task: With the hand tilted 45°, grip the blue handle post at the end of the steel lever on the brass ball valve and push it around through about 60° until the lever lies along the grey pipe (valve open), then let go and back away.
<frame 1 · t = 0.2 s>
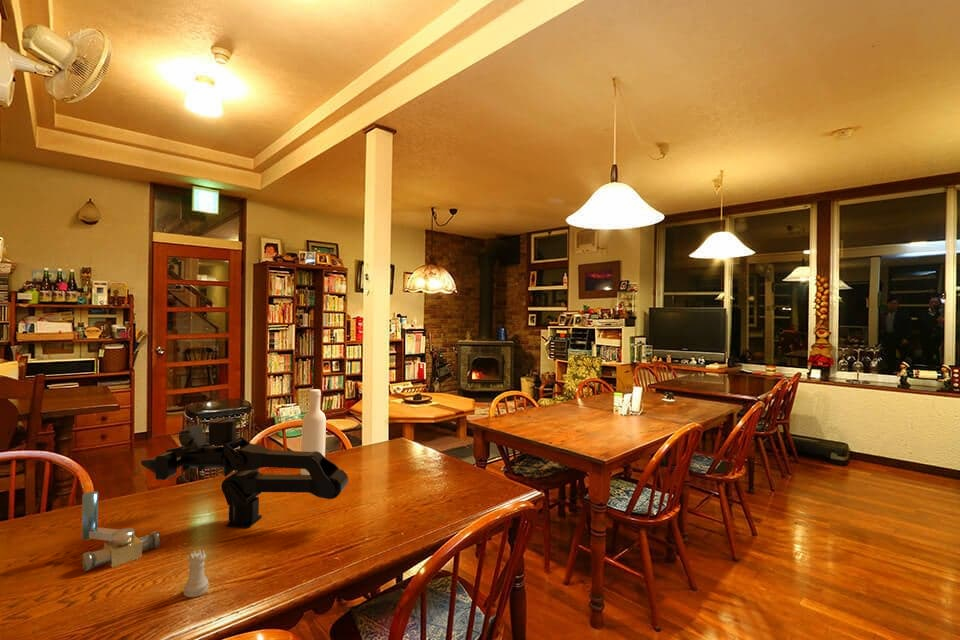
hand: (154, 456, 124), 17 cm above the table, tool horizontal, fingers open, 9 cm apart
rook chess piece: (196, 592, 93), on the table
bottle: (312, 475, 160), on the table
valve body: (122, 558, 105), on the table
lever: (107, 517, 105), point 9 cm above the table, hinge at 0.0°
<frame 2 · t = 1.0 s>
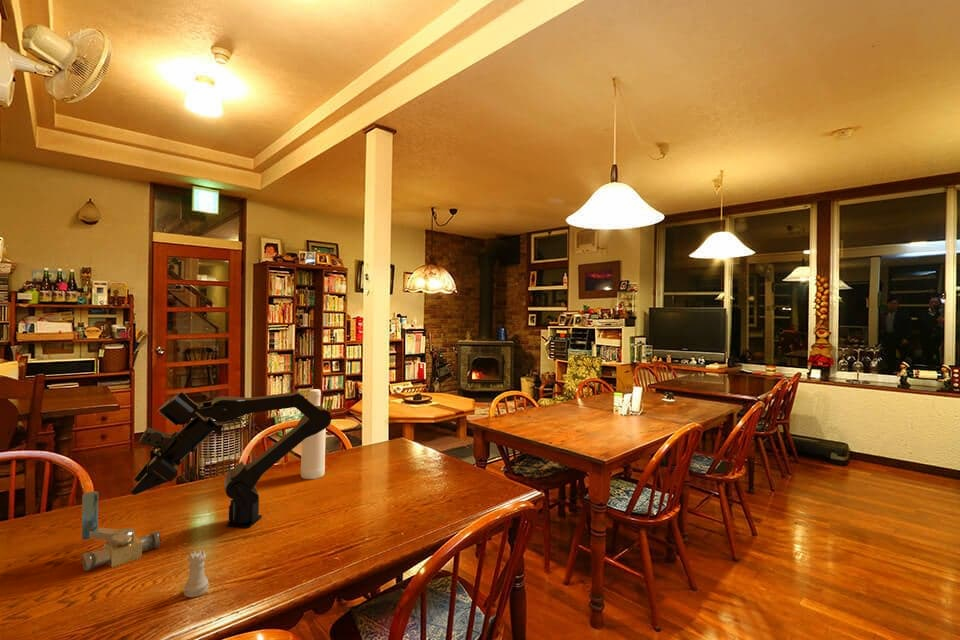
hand: (134, 487, 111), 14 cm above the table, tool tilted 45°, fingers open, 9 cm apart
nothing on the table moved.
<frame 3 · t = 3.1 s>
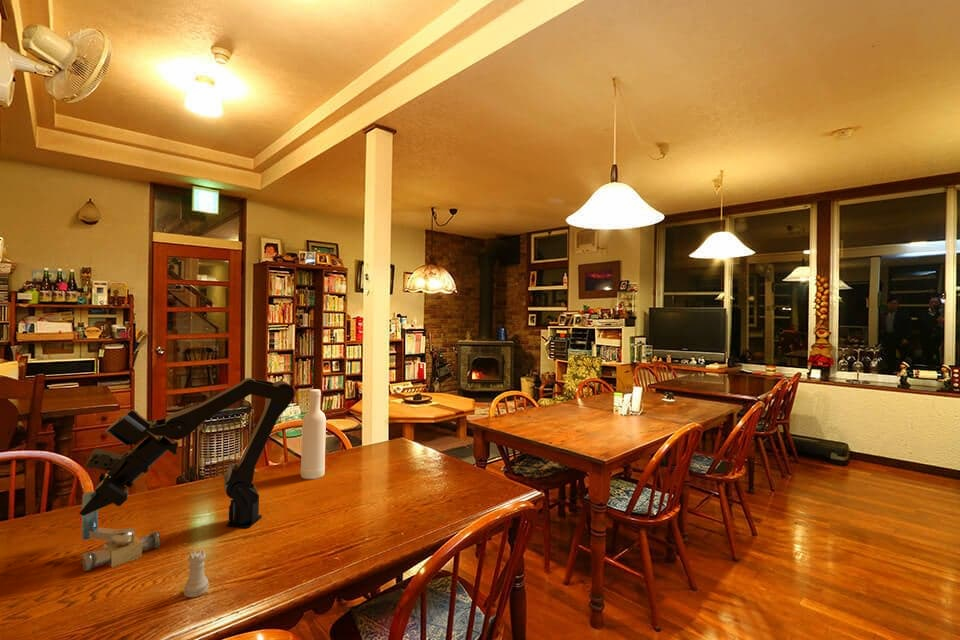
hand: (82, 511, 105), 10 cm above the table, tool tilted 45°, fingers closed on lever, 3 cm apart
lever: (107, 517, 105), point 9 cm above the table, hinge at 0.0°, touching gripper
everything else where it was.
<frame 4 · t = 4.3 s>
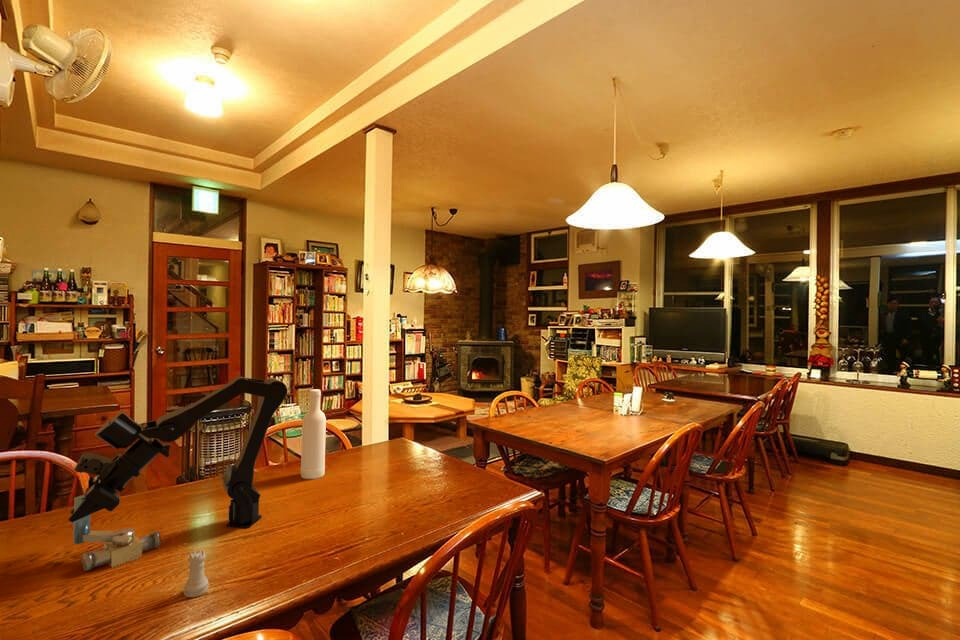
hand: (71, 517, 102), 10 cm above the table, tool tilted 45°, fingers open, 4 cm apart
lever: (104, 519, 104), point 9 cm above the table, hinge at 13.0°, touching gripper
everything else where it was.
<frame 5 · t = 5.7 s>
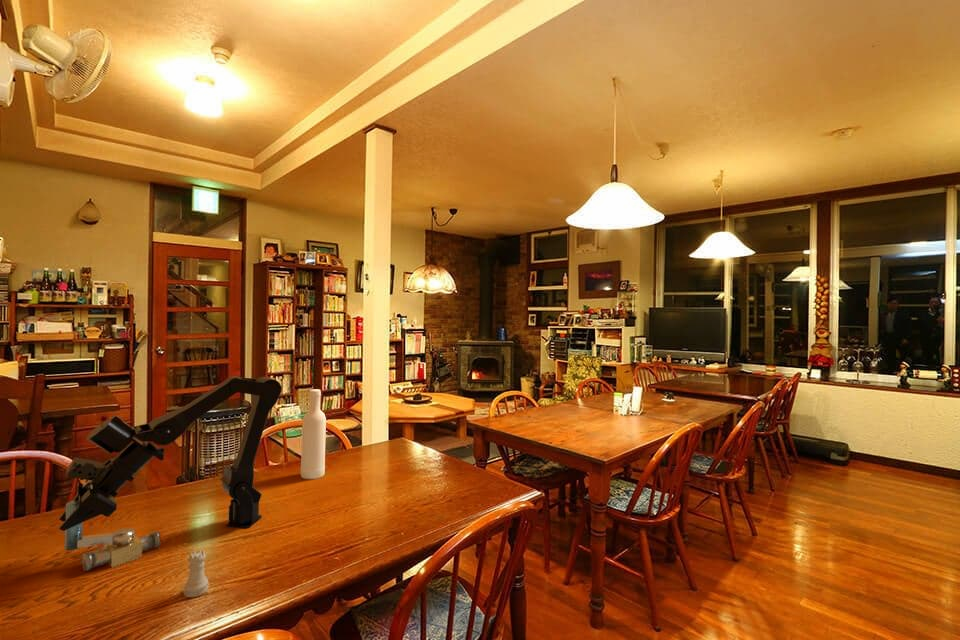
hand: (61, 525, 99), 10 cm above the table, tool tilted 45°, fingers open, 5 cm apart
lever: (100, 521, 103), point 9 cm above the table, hinge at 31.3°, touching gripper
everything else where it was.
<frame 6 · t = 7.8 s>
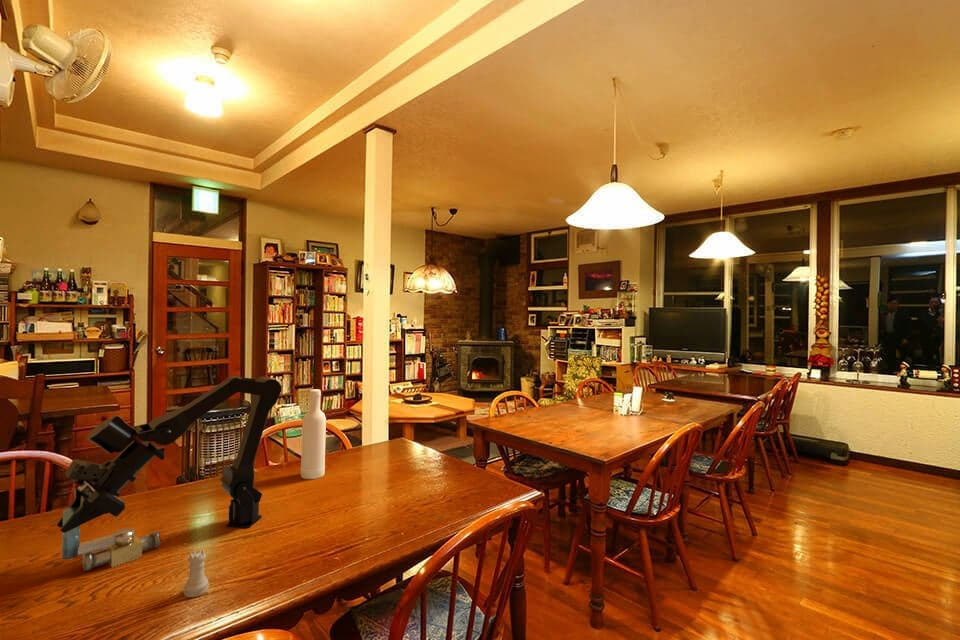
hand: (60, 529, 96), 10 cm above the table, tool tilted 45°, fingers closed on lever, 3 cm apart
lever: (100, 525, 101), point 9 cm above the table, hinge at 57.7°, touching gripper
everything else where it was.
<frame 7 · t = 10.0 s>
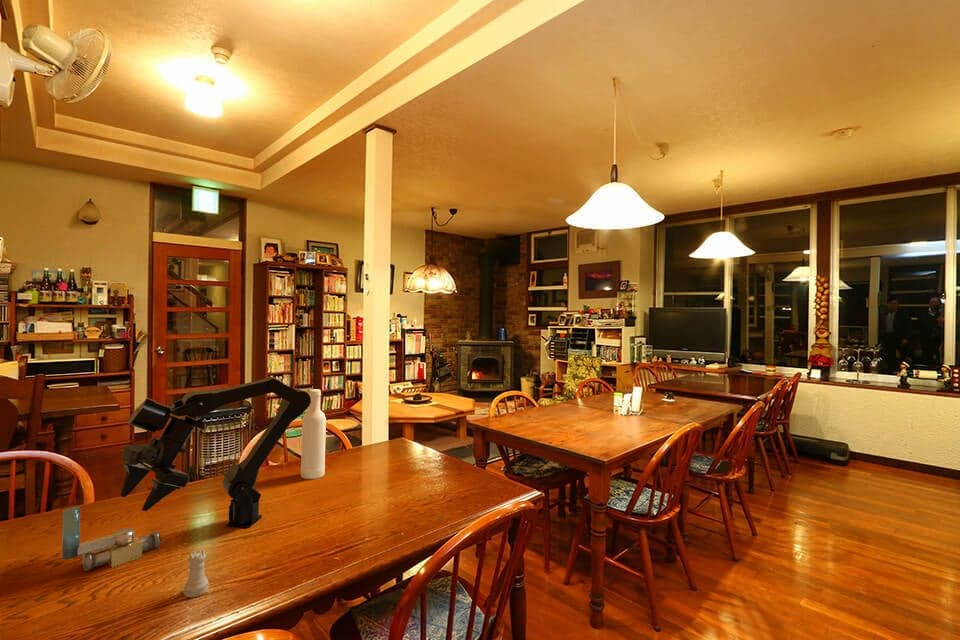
hand: (133, 503, 107), 12 cm above the table, tool tilted 30°, fingers open, 9 cm apart
lever: (100, 525, 101), point 9 cm above the table, hinge at 57.8°
everything else where it was.
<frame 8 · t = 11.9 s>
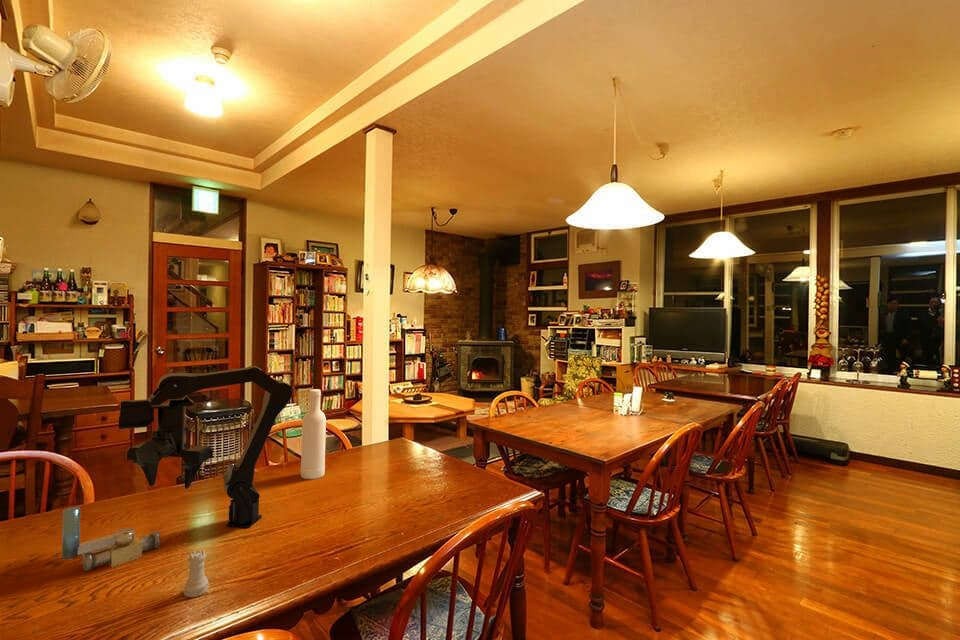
hand: (169, 487, 113), 13 cm above the table, tool pointing down, fingers open, 9 cm apart
nothing on the table moved.
at the end: lever at +58° (first picture: +0°); the gripper is holding nothing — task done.
